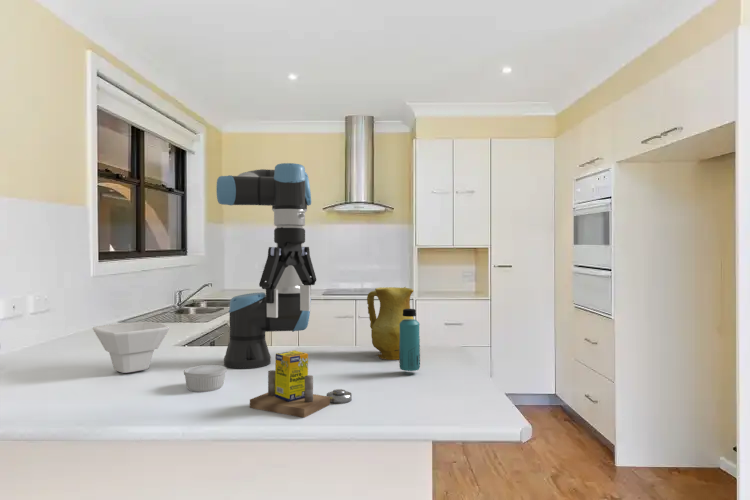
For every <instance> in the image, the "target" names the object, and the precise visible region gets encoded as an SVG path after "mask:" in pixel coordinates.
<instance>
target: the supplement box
mask: <svg viewBox="0 0 750 500" xmlns="http://www.w3.org/2000/svg"><path fill="white" fill-rule="evenodd" d="M274 362H275V369H274V370H275V397H277V398H279V399H282V400H285V401H288V402H290V401H293V400H297V399H301V398H305V376H307V375H309V353H308V352H304V351H298V350H292V351H290V350H289V351H283V352H276V353H275V360H274Z"/></svg>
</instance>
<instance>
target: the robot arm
mask: <svg viewBox="0 0 750 500" xmlns="http://www.w3.org/2000/svg"><path fill="white" fill-rule="evenodd" d="M216 200H217V202H218V204H219V205H225V206H265V207H266V206H270V207H271V210H272V212H273V225H274V226H275V228H274V231H273V235H274V237H273V239H274V240H273V241H274V243H275V244H276V246H269V247H268V249H267V250H268V251H267V257H266V261H265V263H264V264H265V265H264V267H263V271H262V274H261V277H260V279H259V285H258V286H259V287H260V288H261V289H262V290H265V292H261V291H260V292H251V293H244V294H239V295H236V296H233V297H231V299H230V300H229V310H228V313H229V337H228V339H229V342H228V345H227V347H226V350H225V355H224V358H223V366H224V367H226V368H230V369H255V368H260V367H265V366H268V365H270V364H271V363H272V359H271V354H270V352H269V347H268V345H267V341H266V333H267V332H298V331H304V330H306V329H307V328H308V326H309V321H310V314H311V306H312V293H311V292H312V286H315V284H316V282H317V277H316V272H315V269H314V267H313V263H312V258H311V256H310V255H311V254H310V247H309V246H303V244H305V242H306V229H305V228H303V227H304V226H305V225H306V212H307V211H308V206H311V205H312V194H311V185H310V179H309V175H308V173H307V172H306V168H305V166H304V165H303V164H300V163H295V162H294V163H292V162H287V163H286V162H284V163H282V162H281V163H278V164H276V165H275V166H274V169H267V168H266V169H265V168H263V169H262V168H261V169H253V170H249V171H245V172H241V173H239V174H238V175H220V176H218V178H217V180H216Z"/></svg>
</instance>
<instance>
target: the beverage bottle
mask: <svg viewBox="0 0 750 500" xmlns="http://www.w3.org/2000/svg"><path fill="white" fill-rule="evenodd" d="M416 311H417V310H416V309H415V308H410V309H403V316H408V317H412V316H413V317H416V316H417V312H416ZM399 325H400V346H399V347H400V350H399V351H400V353H399V360H398V361H399V370H401V371H405V372H414V371H419V370H420V368H421V345H420V342H421V339H420V337H421V336H420V325H421V324H420V322H419V321H418V320H417V319H415V318H413V319H404V320H402V321H401V322H400V324H399Z"/></svg>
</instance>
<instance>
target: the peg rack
mask: <svg viewBox="0 0 750 500" xmlns="http://www.w3.org/2000/svg"><path fill="white" fill-rule="evenodd" d="M267 371H268V372H267V373H268V374H267V376H268V377H267V383H268V384H267V385H268V386H267V390H268V391H267V392H266V393H263V394H260V395H258V396H255V397H252V398H250V399H249V408H250V409H254V410H260V411H265V412H271V413H277V414H283V415H288V416H294V417H299V418H307V417H309V416H310V415H312V414H315V413H317V412H318V411H320V410H322V409H324V408H326V407H328V406H330V405H331V403H330V397H328V396H327V395H320V394H315V393H314V375H311V374H308V375H307V376H305V398H301V399H297V400H293V401H290V402H288V401H285V400H282V399H279V398H277V397H275V369H273V370H267Z"/></svg>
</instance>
